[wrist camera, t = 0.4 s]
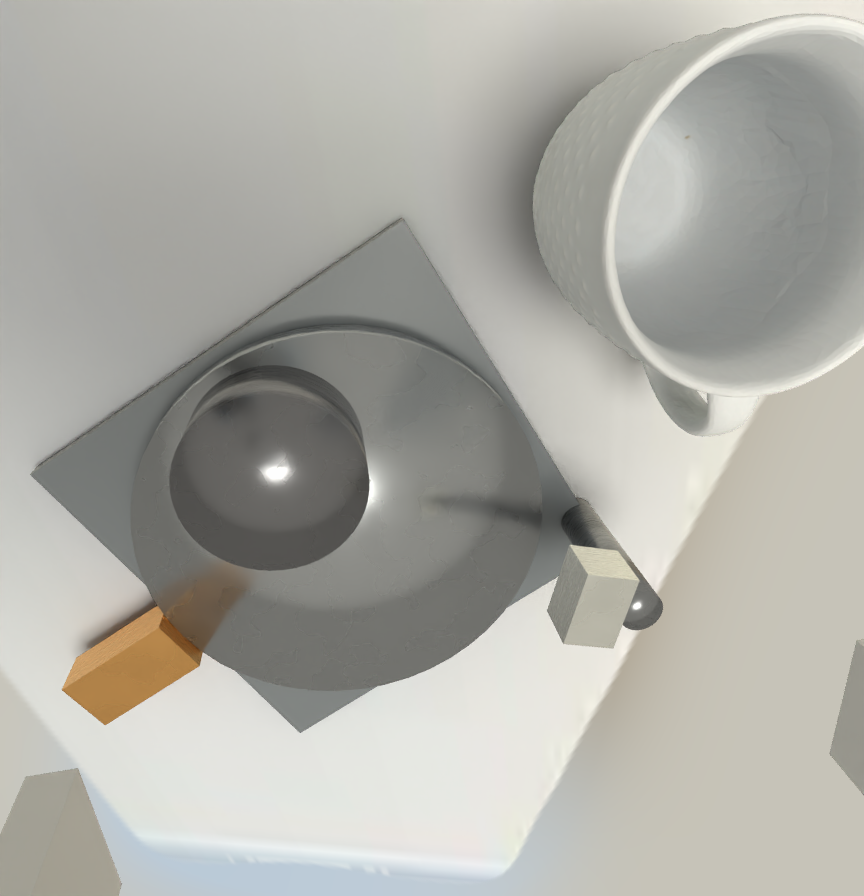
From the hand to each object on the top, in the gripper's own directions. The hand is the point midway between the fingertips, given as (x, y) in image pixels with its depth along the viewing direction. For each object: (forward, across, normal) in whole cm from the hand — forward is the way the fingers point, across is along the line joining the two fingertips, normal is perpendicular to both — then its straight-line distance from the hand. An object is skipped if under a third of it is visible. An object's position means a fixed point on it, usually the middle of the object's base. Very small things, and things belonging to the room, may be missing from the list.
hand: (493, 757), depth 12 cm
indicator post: (+24, +8, -10) cm, 28 cm away
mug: (+25, +12, +5) cm, 28 cm away
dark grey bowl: (+22, -5, -3) cm, 23 cm away
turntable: (+23, -5, -10) cm, 26 cm away
